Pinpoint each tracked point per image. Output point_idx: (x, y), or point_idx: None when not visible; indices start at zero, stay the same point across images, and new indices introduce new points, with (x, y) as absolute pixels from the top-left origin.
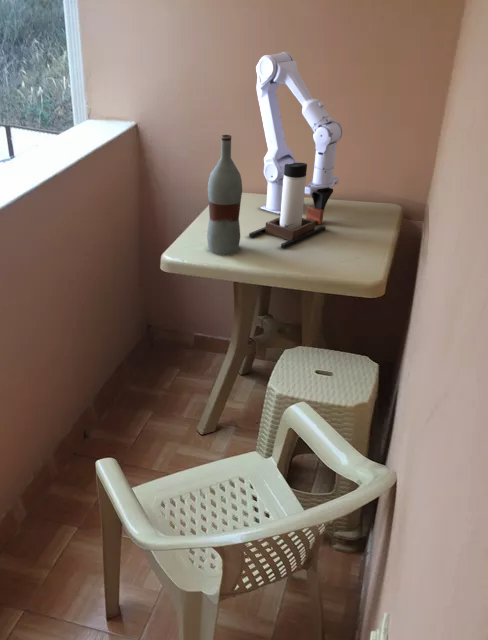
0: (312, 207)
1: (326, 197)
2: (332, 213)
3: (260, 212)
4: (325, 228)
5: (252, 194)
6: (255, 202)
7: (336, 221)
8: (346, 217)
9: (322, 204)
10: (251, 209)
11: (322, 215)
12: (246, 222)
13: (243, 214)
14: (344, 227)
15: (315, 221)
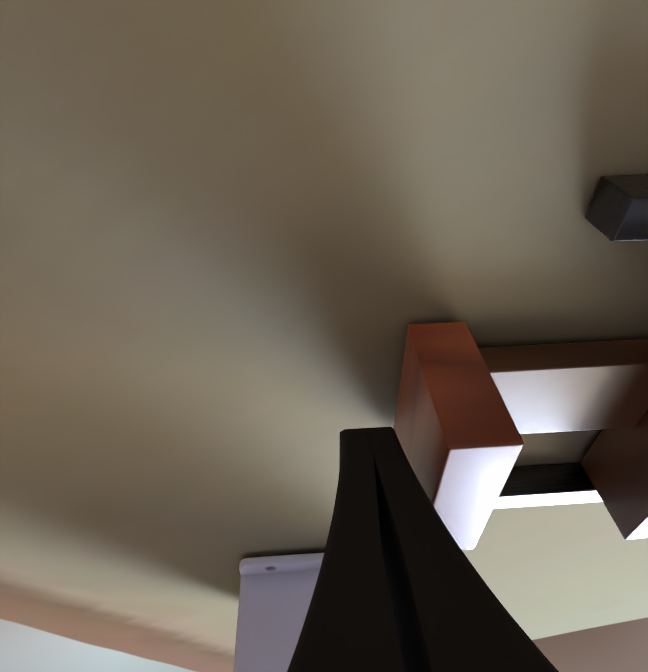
0: None
1: (398, 656)
2: (85, 408)
3: None
4: (615, 184)
5: None
6: None
7: (225, 264)
8: (5, 265)
9: (449, 537)
10: None
11: (449, 389)
12: (644, 551)
13: (530, 593)
14: (333, 30)
15: (494, 366)
